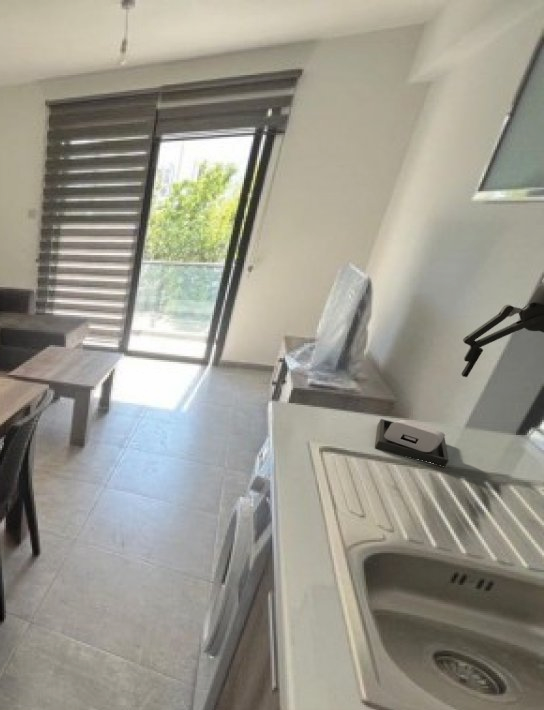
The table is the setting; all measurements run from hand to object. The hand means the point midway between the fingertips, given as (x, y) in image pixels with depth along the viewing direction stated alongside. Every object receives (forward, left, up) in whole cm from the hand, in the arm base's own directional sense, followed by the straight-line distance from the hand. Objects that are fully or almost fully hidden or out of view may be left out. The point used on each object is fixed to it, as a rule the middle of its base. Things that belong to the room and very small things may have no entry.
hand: (504, 383), depth 110 cm
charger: (-3, +9, -18) cm, 21 cm away
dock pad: (-2, +9, -19) cm, 21 cm away
